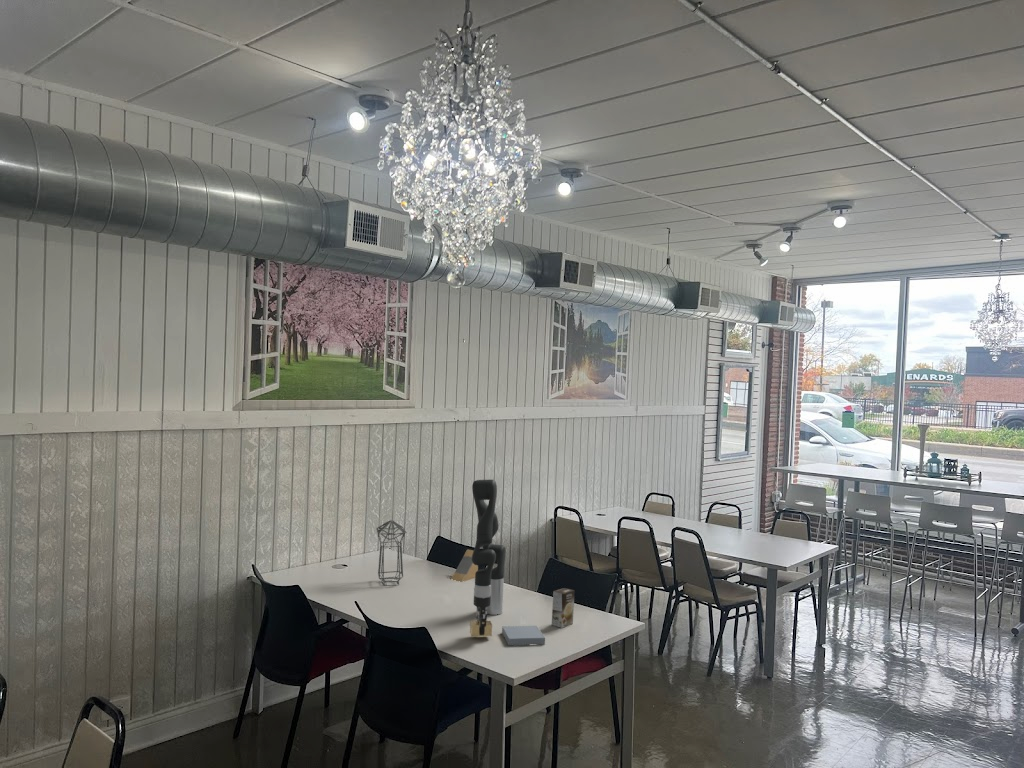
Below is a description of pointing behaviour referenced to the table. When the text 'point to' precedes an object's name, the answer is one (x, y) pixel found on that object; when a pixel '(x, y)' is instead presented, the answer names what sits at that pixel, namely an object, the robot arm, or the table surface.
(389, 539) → the geometric lantern
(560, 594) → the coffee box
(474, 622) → the tan rectangular block
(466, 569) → the sandwich container
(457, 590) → the table surface
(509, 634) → the slate board
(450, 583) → the table surface
